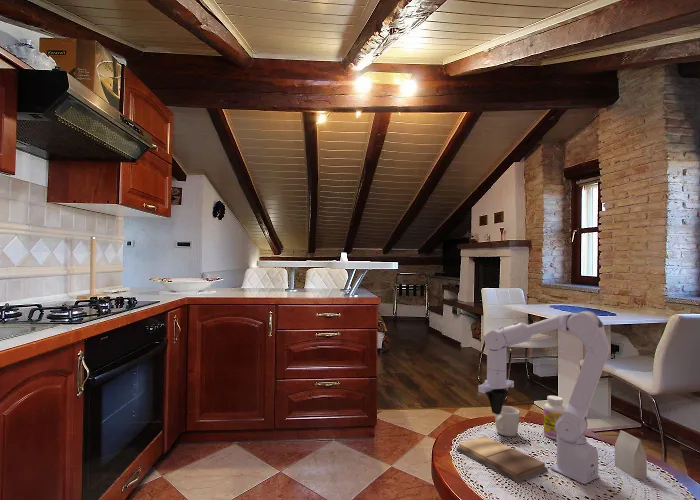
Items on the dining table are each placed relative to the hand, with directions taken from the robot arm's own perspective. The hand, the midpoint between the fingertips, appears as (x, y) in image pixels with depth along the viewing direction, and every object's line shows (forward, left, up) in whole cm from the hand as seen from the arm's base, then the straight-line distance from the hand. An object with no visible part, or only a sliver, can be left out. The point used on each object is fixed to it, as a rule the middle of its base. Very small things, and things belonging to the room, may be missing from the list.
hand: (496, 413), depth 122 cm
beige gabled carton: (-28, -21, -11) cm, 37 cm away
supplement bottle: (-4, -25, -11) cm, 27 cm away
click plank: (-1, +6, -10) cm, 11 cm away
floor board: (-6, +6, -10) cm, 13 cm away
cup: (+5, -11, -11) cm, 16 cm away
